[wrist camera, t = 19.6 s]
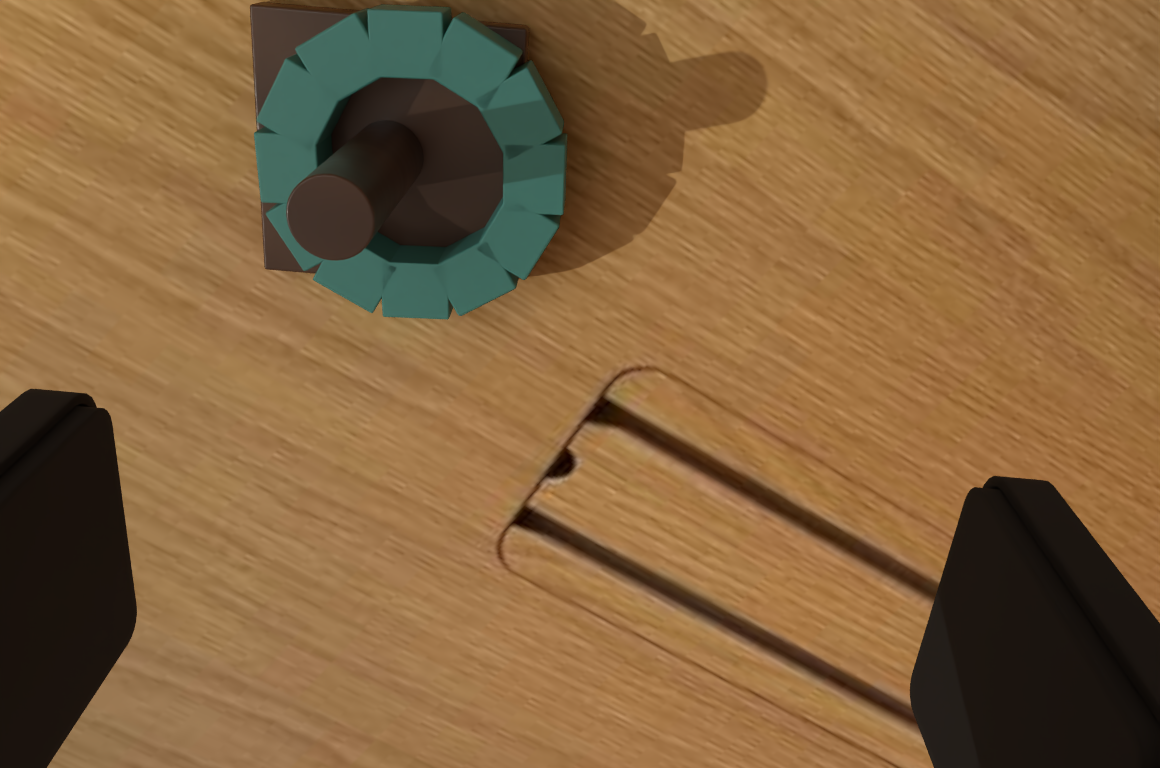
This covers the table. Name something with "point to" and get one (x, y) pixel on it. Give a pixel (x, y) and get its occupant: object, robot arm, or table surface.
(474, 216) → the post
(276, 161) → the ring
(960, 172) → the table surface
